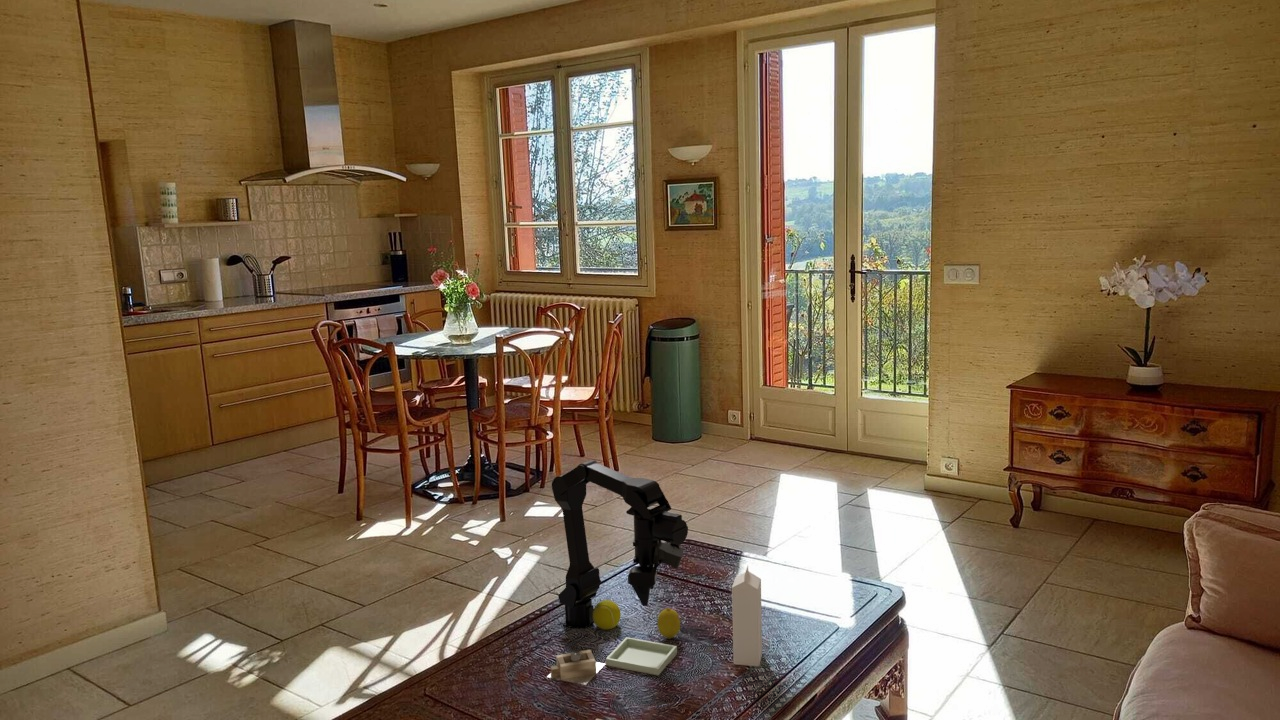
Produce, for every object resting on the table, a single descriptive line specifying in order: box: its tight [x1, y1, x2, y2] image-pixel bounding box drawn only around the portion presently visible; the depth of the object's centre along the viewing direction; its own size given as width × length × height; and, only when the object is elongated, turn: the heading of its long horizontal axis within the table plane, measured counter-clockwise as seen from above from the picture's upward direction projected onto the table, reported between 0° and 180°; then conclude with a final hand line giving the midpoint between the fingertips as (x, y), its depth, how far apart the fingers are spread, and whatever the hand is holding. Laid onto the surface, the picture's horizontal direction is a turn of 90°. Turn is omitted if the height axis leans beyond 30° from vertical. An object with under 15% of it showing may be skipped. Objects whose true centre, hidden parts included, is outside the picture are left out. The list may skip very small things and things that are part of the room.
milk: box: [731, 565, 763, 667], centre depth 209 cm, size 6×6×22 cm
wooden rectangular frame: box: [550, 649, 597, 679], centre depth 207 cm, size 10×6×3 cm, turn 106°
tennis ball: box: [593, 599, 622, 630], centre depth 228 cm, size 7×7×7 cm
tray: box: [605, 636, 678, 676], centre depth 212 cm, size 13×11×2 cm
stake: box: [546, 650, 606, 686], centre depth 208 cm, size 10×10×5 cm
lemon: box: [657, 607, 681, 640], centre depth 221 cm, size 6×6×8 cm
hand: (648, 596), depth 214 cm, fingers open, 9 cm apart
